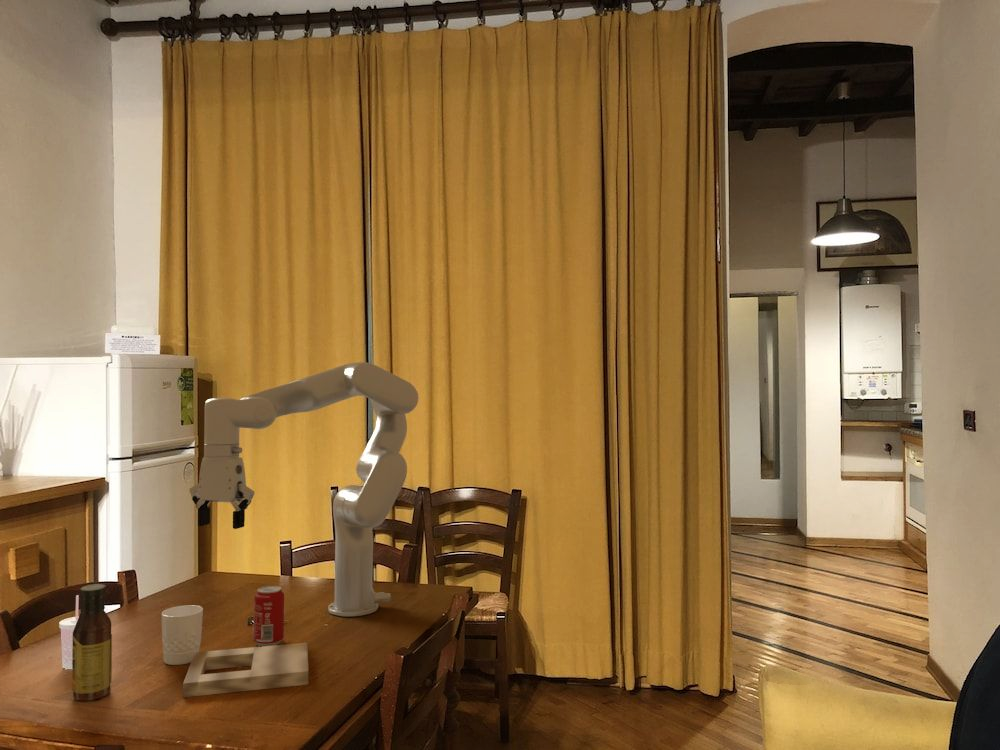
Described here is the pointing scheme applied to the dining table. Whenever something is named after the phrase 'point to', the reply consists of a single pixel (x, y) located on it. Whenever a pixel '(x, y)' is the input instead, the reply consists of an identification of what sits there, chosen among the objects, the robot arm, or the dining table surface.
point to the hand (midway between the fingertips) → (221, 526)
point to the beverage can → (268, 616)
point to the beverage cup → (68, 637)
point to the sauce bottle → (92, 646)
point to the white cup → (181, 633)
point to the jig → (267, 670)
